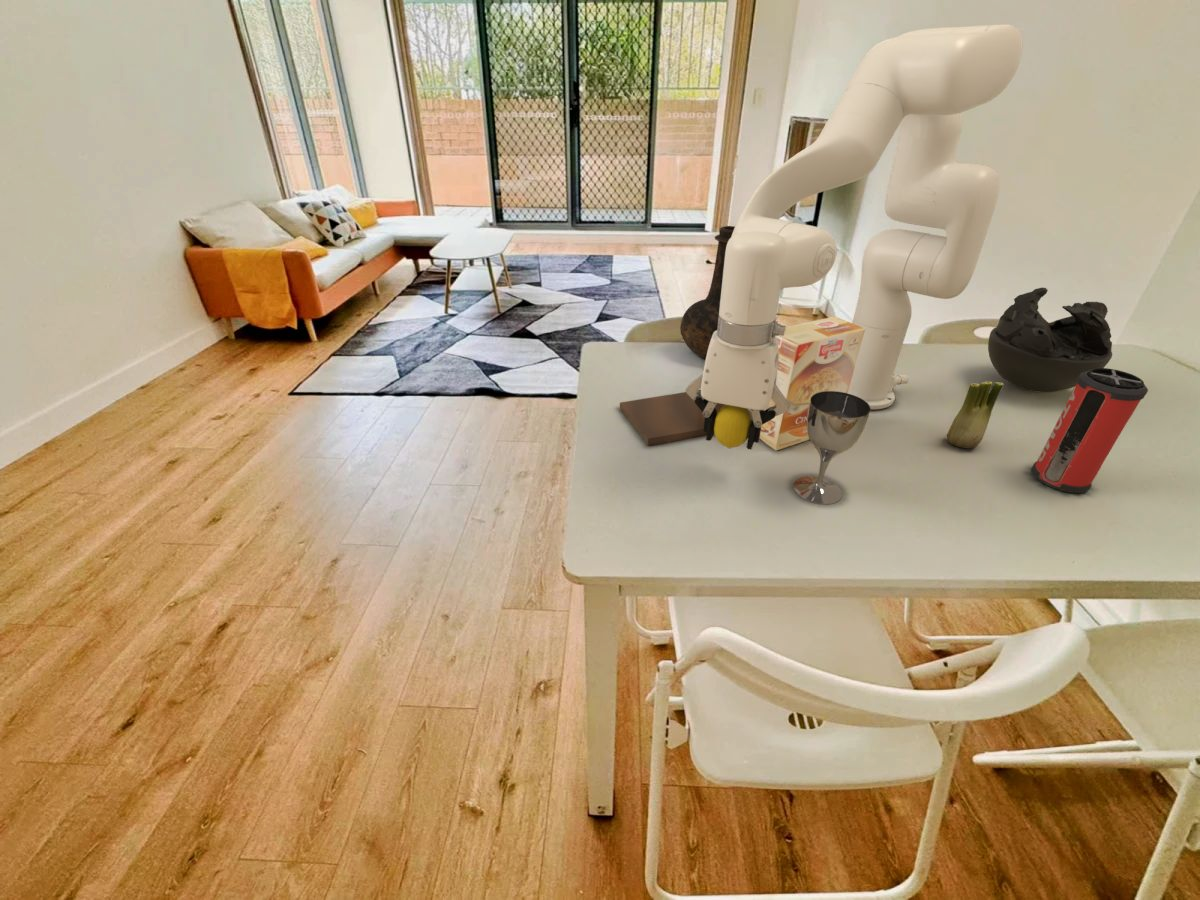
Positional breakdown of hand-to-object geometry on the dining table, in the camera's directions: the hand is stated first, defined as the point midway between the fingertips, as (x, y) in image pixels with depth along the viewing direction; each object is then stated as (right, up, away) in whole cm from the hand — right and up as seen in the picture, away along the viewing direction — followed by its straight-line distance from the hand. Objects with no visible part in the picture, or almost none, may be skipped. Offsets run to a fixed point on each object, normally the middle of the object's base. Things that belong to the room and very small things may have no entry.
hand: (730, 439), depth 86 cm
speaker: (+53, -7, +2) cm, 53 cm away
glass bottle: (+7, +21, +45) cm, 50 cm away
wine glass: (+13, -8, 0) cm, 16 cm away
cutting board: (-4, +5, +19) cm, 20 cm away
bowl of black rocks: (+69, +11, +30) cm, 76 cm away
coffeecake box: (+15, +1, +15) cm, 21 cm away
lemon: (0, -1, +1) cm, 2 cm away
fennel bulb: (+43, -1, +11) cm, 44 cm away
